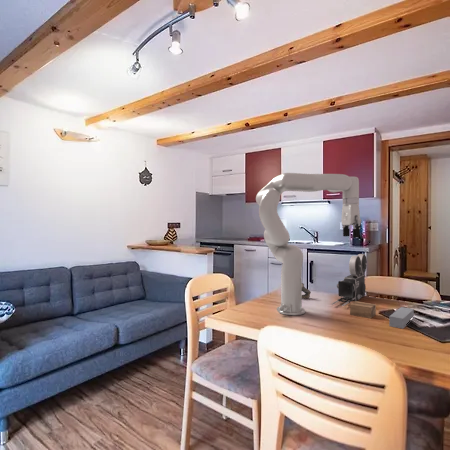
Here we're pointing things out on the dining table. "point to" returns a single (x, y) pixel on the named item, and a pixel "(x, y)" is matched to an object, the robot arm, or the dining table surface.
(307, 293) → the futuristic pistol
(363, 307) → the walnut block
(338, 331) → the dining table surface
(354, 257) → the film camera
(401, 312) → the board
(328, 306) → the dining table surface
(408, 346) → the dining table surface
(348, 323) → the dining table surface
